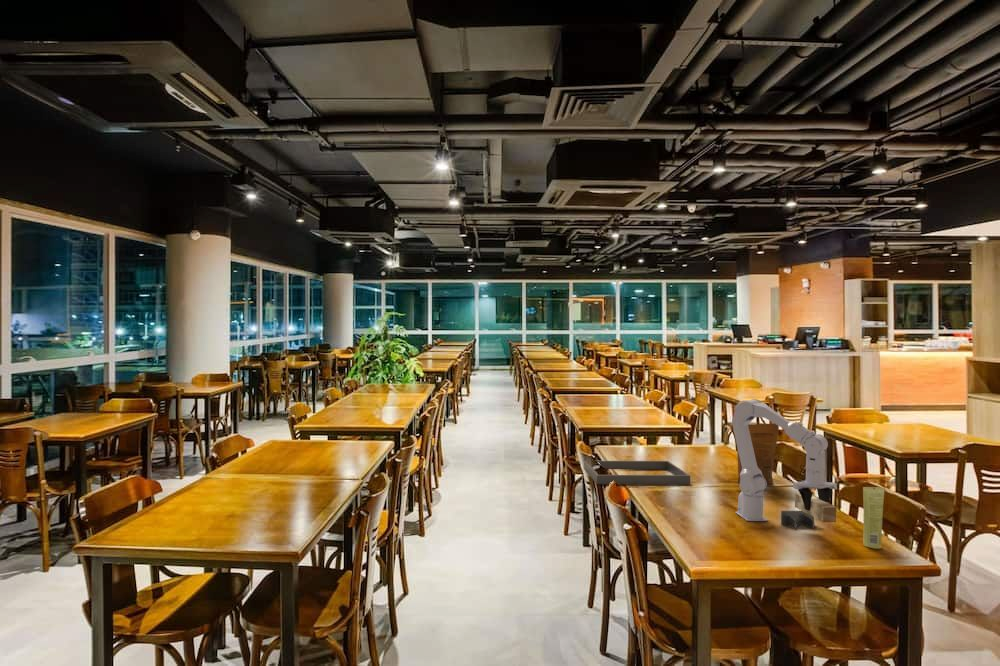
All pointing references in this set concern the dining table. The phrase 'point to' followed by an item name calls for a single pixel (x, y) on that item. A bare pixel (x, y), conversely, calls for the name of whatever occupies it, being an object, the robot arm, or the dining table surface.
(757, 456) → the pancake mix bag
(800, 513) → the bracket
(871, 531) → the tube
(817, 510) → the rail
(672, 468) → the paper frame
